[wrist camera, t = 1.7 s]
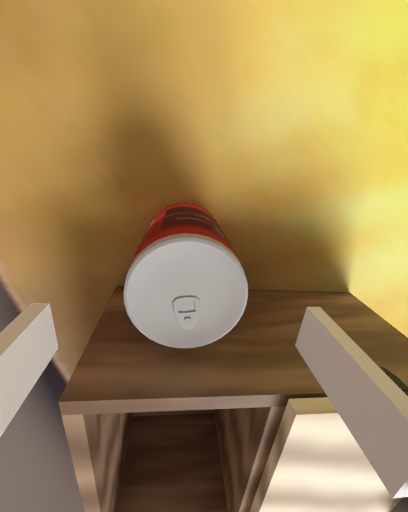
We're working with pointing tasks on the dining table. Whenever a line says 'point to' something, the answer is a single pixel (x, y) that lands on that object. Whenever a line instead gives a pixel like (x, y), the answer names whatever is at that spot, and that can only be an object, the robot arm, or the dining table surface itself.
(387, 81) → the dining table surface
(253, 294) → the housing
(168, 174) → the dining table surface
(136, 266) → the canned food
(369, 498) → the lid
